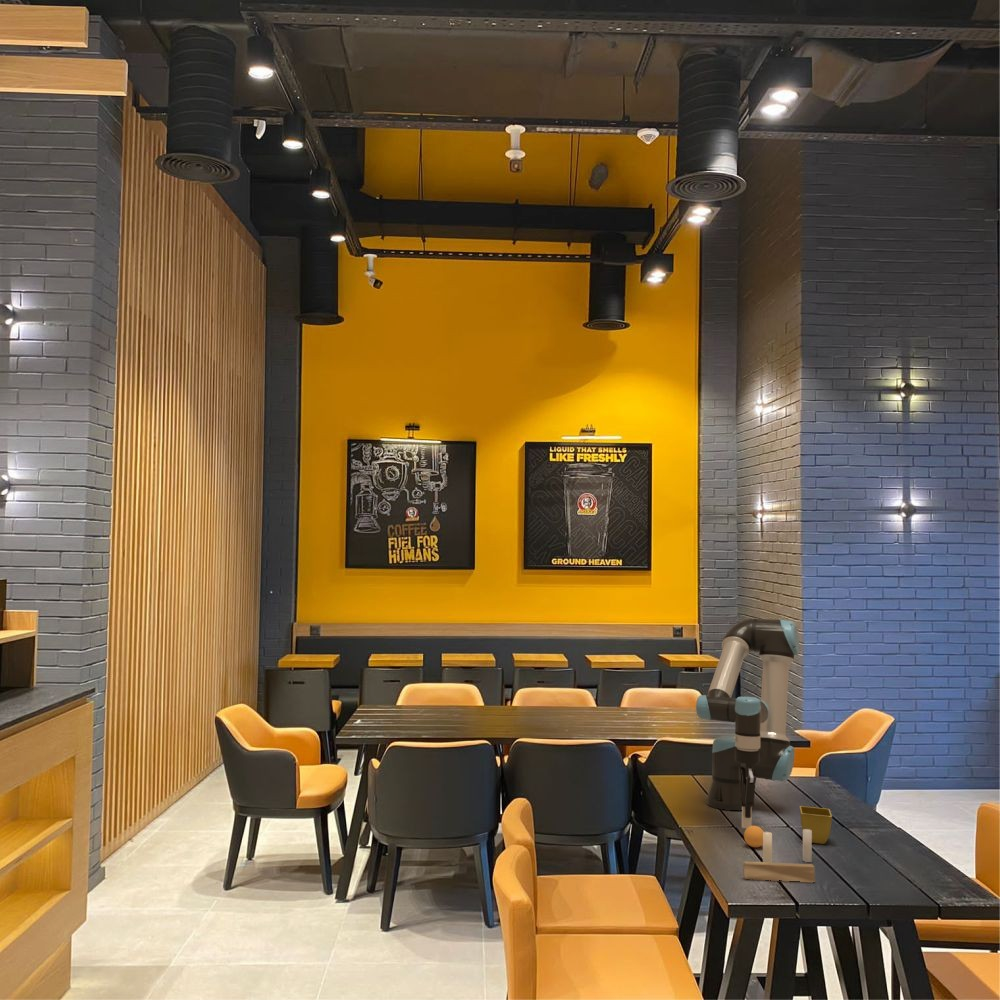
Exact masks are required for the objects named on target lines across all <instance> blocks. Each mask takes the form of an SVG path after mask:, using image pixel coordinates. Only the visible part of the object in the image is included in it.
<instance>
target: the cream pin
mask: <svg viewBox="0 0 1000 1000" xmlns="http://www.w3.org/2000/svg"><path fill="white" fill-rule="evenodd" d="M762 862H767V863H773V833H772V832H770V831H764V832H763V845H762Z"/></svg>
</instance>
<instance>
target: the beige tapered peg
mask: <svg viewBox="0 0 1000 1000" xmlns="http://www.w3.org/2000/svg"><path fill="white" fill-rule="evenodd" d="M812 848H813V847H812V830H809V829H803V831H802V862H803V861H805V862H804V863H806V862H811V863H812V861H813V855H812V854H813V852H812V850H813V849H812Z"/></svg>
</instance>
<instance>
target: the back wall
mask: <svg viewBox="0 0 1000 1000" xmlns="http://www.w3.org/2000/svg"><path fill="white" fill-rule="evenodd" d="M742 870H743V872H742V873H743V876H744V877H743V878H745V879H751V880H750V881H765V880H769V881H770V880H771V882H780V881H779V880H782V881H781V882H789V881H800V882H799V883H813V882H815V883H816V881H815V879H816V878H815V877H816V874H815V873H816V867H815V865H814V864H812V863H792V862H791V863H788V862H787V863H786V862H784V863H783V862H772V863H767V862H763V861H743V869H742ZM745 879H744V880H745ZM752 879H753V880H752ZM769 881H768V882H769Z"/></svg>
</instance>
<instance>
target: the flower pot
mask: <svg viewBox="0 0 1000 1000" xmlns="http://www.w3.org/2000/svg"><path fill="white" fill-rule="evenodd" d="M799 816H800V824H801V830H802V832H803V829H809V830H812V843H813V844H821V845H824V844H826V843H827V841H828V839H829V836H830V834H831V829H832V821H833V815H832V811H831V810H830V808H824V807H823V808H822V807H814V806H806V805H805V806H803V805H799Z"/></svg>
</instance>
